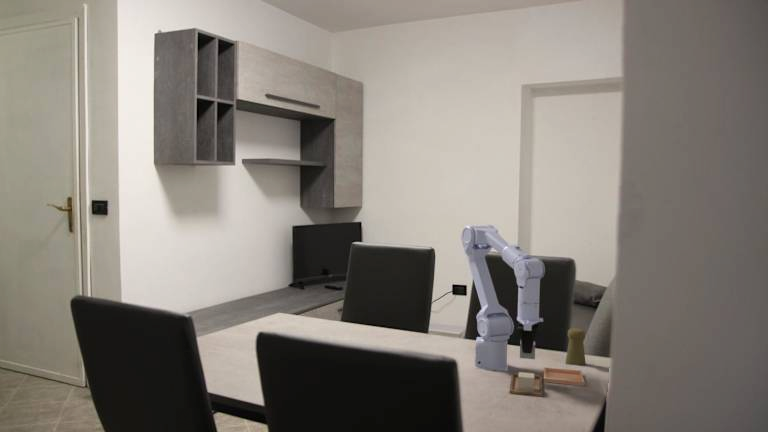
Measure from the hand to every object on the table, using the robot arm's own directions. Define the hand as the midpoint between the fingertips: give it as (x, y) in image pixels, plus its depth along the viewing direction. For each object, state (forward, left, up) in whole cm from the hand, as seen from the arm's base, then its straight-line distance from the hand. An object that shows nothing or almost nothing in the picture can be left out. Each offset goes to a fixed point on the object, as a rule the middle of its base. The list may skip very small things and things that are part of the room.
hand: (527, 350), depth 155 cm
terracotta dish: (+10, +6, -9) cm, 15 cm away
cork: (+15, +23, -9) cm, 29 cm away
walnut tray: (0, -4, -9) cm, 10 cm away
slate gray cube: (0, 0, -2) cm, 2 cm away
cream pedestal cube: (0, -8, -8) cm, 12 cm away
